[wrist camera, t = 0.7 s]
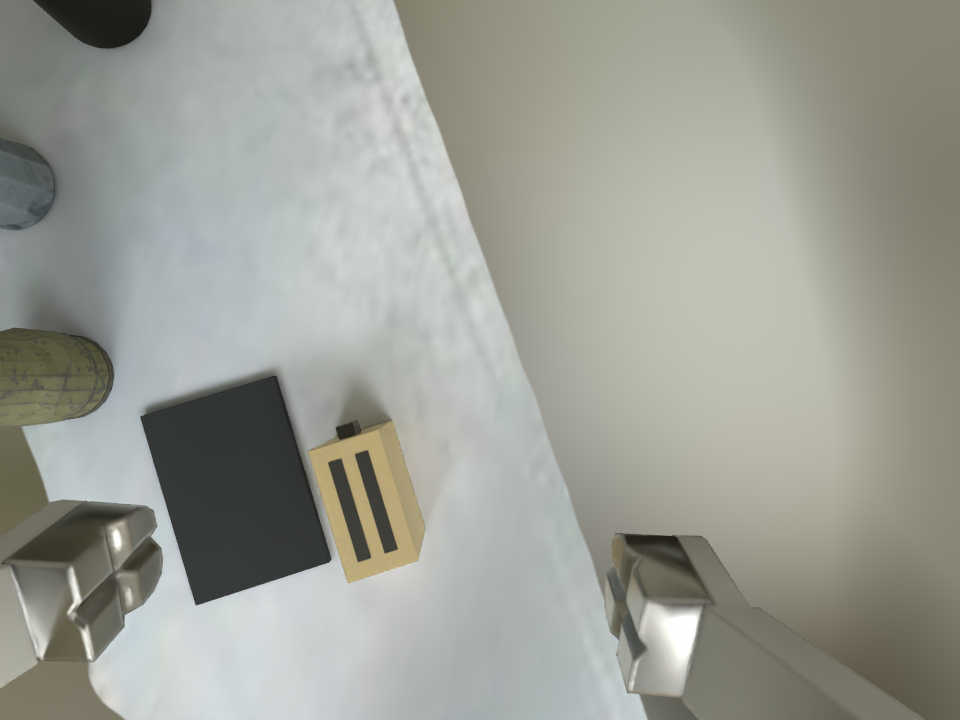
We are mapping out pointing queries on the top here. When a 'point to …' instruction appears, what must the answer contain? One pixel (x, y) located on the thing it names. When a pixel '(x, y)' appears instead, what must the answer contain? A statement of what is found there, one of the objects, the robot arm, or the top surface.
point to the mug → (100, 19)
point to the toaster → (368, 499)
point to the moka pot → (23, 186)
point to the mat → (235, 489)
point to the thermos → (50, 377)
